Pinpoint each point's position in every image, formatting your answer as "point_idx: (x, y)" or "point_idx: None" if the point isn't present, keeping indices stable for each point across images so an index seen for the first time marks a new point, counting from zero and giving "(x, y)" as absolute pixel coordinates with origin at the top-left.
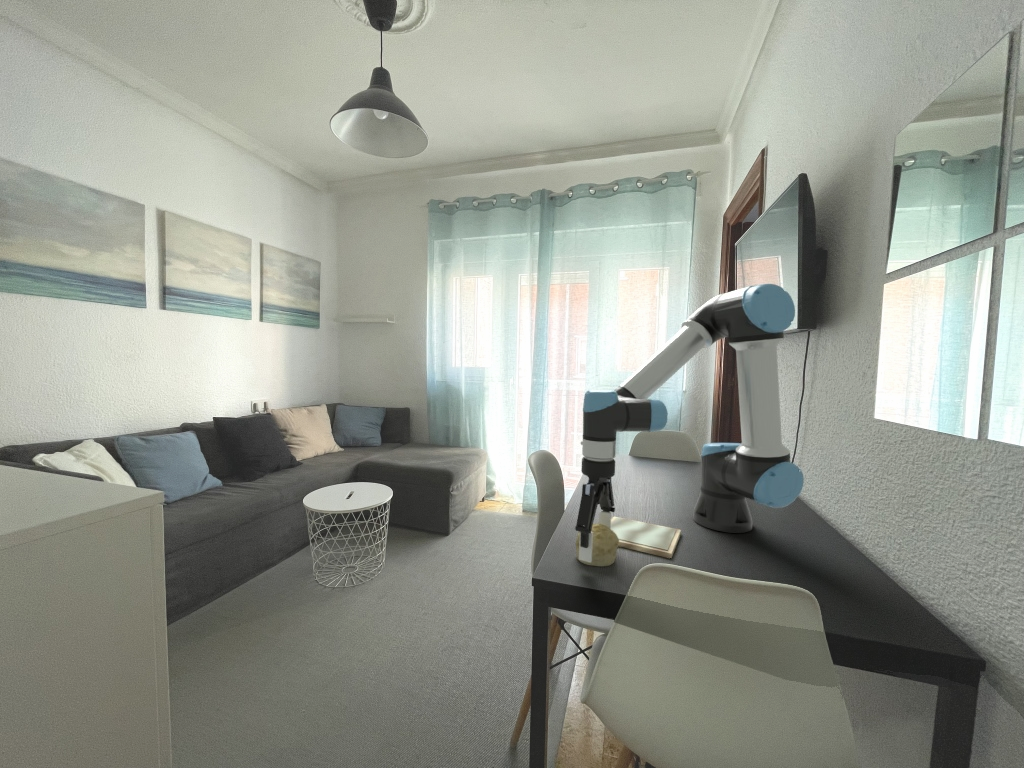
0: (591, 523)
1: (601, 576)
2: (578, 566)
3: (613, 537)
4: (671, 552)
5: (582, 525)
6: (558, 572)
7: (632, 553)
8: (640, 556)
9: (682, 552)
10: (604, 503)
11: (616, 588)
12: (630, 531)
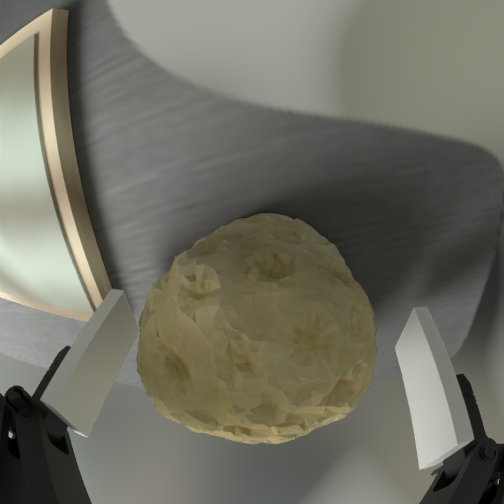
0: (479, 491)
1: (422, 233)
2: None
3: (276, 322)
4: (43, 14)
5: (447, 485)
6: None
7: (109, 160)
8: (114, 116)
9: (14, 22)
10: (69, 488)
11: (486, 160)
12: (3, 229)
